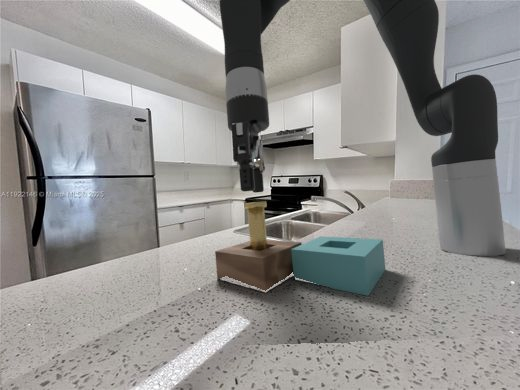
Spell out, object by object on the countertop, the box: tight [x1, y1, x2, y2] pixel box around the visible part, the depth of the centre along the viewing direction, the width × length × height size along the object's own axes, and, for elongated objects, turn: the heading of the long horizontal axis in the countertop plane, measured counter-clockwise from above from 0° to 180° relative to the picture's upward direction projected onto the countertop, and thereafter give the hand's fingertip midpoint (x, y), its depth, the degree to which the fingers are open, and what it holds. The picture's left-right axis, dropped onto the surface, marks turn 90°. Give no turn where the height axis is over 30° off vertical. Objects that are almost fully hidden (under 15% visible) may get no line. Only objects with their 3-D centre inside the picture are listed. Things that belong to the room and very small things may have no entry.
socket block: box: [291, 235, 387, 297], centre depth 35 cm, size 11×11×5 cm
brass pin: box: [243, 200, 268, 251], centre depth 38 cm, size 4×4×13 cm
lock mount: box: [214, 239, 302, 291], centre depth 38 cm, size 11×11×5 cm
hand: (253, 191), depth 38 cm, fingers open, 8 cm apart
